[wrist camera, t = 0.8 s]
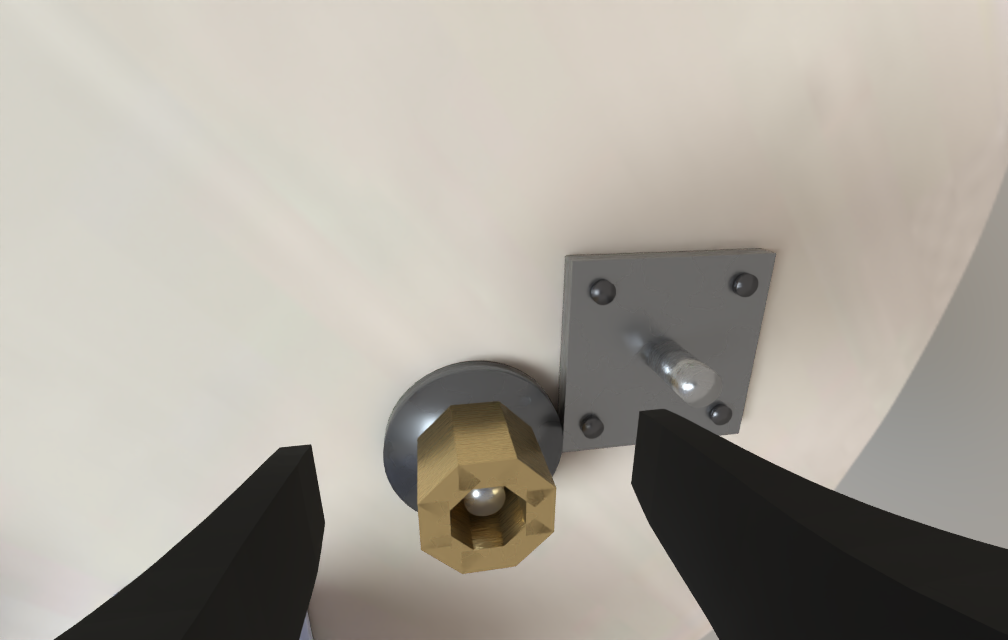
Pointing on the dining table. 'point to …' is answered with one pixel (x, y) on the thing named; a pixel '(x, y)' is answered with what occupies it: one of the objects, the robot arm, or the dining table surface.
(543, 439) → the stand
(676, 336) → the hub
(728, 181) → the dining table surface
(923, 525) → the robot arm
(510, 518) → the brass collar
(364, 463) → the dining table surface
